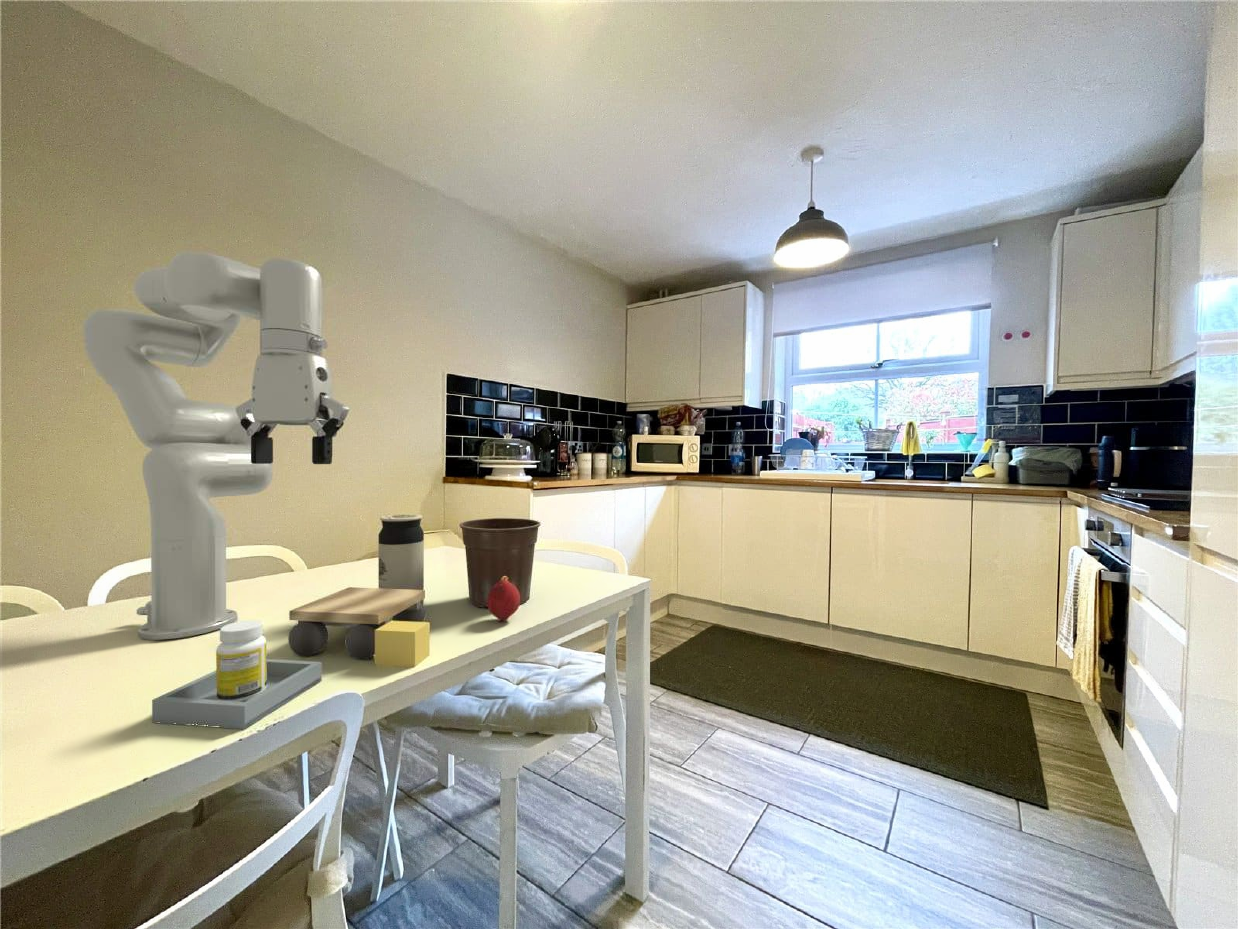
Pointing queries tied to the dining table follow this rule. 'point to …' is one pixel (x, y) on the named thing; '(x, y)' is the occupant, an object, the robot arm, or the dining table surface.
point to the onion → (503, 599)
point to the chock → (402, 643)
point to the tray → (204, 708)
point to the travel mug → (401, 553)
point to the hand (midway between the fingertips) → (292, 463)
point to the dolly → (353, 618)
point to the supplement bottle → (241, 661)
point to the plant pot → (499, 555)
